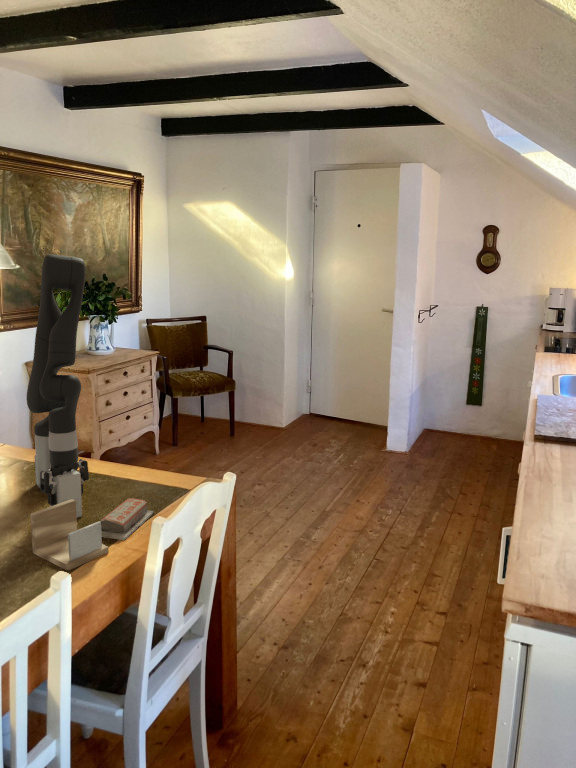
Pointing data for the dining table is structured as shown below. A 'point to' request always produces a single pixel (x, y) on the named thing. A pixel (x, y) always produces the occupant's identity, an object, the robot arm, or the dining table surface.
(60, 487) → the small box
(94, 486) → the dining table surface
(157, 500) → the dining table surface
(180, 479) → the dining table surface
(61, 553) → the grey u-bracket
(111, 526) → the packaged product
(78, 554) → the grey rectangular panel
